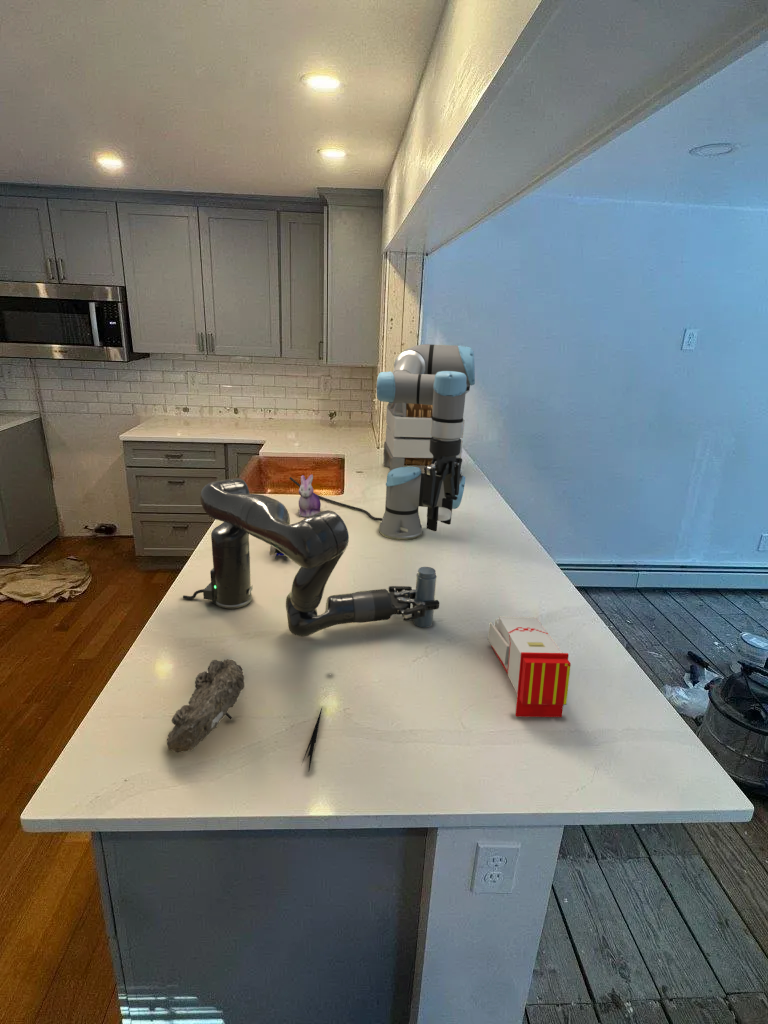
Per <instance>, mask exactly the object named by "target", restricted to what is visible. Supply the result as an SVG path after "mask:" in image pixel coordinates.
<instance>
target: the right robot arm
mask: <svg viewBox="0 0 768 1024" xmlns="http://www.w3.org/2000/svg"><path fill="white" fill-rule="evenodd" d="M474 352H475V351H474V349H473V348H472V347H470V346H466V345H465V346H464V345H456V344H430V343H425V344H424V343H423V344H417V345H413V346H411V347H408V348H406V349H404V350H403V351H401V352H400V353H399V354H397V356H396V358H395V360H394V364H393V370H392V371H391V370H390V371H381V372H379V373H378V375H377V379H376V398H377V400H378V401H379V402H381V403H383V402H384V403H410V404H425V405H433V411H432V422H431V424H432V425H431V435H432V436H433V437H431V438H430V448H429V451H430V453H432V455H433V459H432V462H431V465H430V466H429V465H428V466H423V472H422V469H421V468H420V467H419V466H418V467H417V466H404V467H399V468H396V469H393V470H391V471H390V470H389V471H388V473H387V475H386V482H385V487H386V488H385V504H384V505H385V507H384V508H385V509H384V513H383V515H382V517H375V516H373V515H372V514H371V513H370V512H369V511H367V510H366V509H363V508H360V507H358V506H357V507H356V506H353V505H350V504H346V503H343V502H339V501H337V500H332V499H329V498H327V497H324V496H321V495H319V494H316V495H317V496H318V497H319V499H320V500H323V501H326V502H328V503H331V504H335V505H338V506H341V507H345V508H348V509H352V510H355V511H359V512H362V513H364V514H366V515H367V516H368V518H370V519H371V520H374V521H379V526H378V533H379V534H380V535H381V536H382V537H385V538H387V539H389V540H395V541H410V540H415V539H418V538H420V537H421V536H422V535H423V525H422V524H421V518H420V515H419V508H420V507H421V508H422V507H423V508H426V525H425V526H426V527H425V529H426V530H429V531H432V532H437V531H438V522H439V521H438V510H439V507H443V508H447V509H449V510H451V516H452V514H453V513H452V512H453V510H455V509H458V508H459V507H460V506H461V502H462V500H463V496H464V491H465V484H466V476H465V475H463V474H462V473H463V471H462V463H463V458H462V457H461V458H459V454H460V449H461V440H462V438H461V437H462V428H463V419H464V412H465V403H466V395H467V394H468V393H469V392H470V388H471V386H474V385H475V384H476V371H475V370H476V369H475V353H474ZM460 439H461V440H460ZM289 480H290V481H291V482H293V483H294V484H295V485H296V486H297V487H298V488H300V486H301V483H299V482H298V481H297V480H295V478H293V477H291V476H290V477H289ZM440 523H442V524H445V525H451V524H452V518H451V519H449V520H446V521H440Z"/></svg>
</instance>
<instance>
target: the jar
mask: <svg viewBox="0 0 768 1024" xmlns="http://www.w3.org/2000/svg"><path fill="white" fill-rule="evenodd" d="M415 575H416V577H415V588H414V589H415V600H416V601H421V602H425V601H432V600H436V590H437V589H436V588H437V577H438V575H437V573H436V569H435V568H434V567H430V566H420V567H419V568H418V569H417V572H416V574H415ZM418 606H420V605H416V606H415V607H418ZM418 613H420V612H418ZM418 613H417V614H418ZM434 613H435V610H427V611H425V616H424V617H420V618H416V619H413V620H412V623H413V624H414V625H415V626H416V627H419V628H429V627H430V628H431V626H432V625H433V624H434V623H433V622H434Z"/></svg>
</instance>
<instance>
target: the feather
mask: <svg viewBox="0 0 768 1024" xmlns="http://www.w3.org/2000/svg"><path fill="white" fill-rule="evenodd" d="M329 675H330V676H331V675H332V674H331V673H330V674H329ZM322 710H323V707H321V708H320V710H319V713H318V716H317V719H316V723H315V725H314V728H313V731H312V733H311V737H310V739H309V742H308V745H307V748H306V751H305V754H304V757H303V760H302V763H301V767H302V765H303V763H304V761H305V758H308V759H309V760H308V762H307V763H308V764H307V766H308V771H310V770H311V766H312V765H311V764H312V760H313V757H315V756H314V755H315V751H316V749H315V746H317V739H318V733H319V729H320V722H321V717H322V712H323V711H322ZM313 754H314V755H313ZM306 755H307V757H306Z"/></svg>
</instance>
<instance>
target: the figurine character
mask: <svg viewBox="0 0 768 1024" xmlns="http://www.w3.org/2000/svg"><path fill="white" fill-rule="evenodd" d="M269 555H270V556H274V559H275V560H278V558H279V556H281V557H282V556H284V557H283V560H287V559H288V557H287V556H286V555H284V554H283V553H282V552H280V551H279V550H278V549H276V548H275V547H273V546H271V545H270V547H269Z"/></svg>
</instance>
